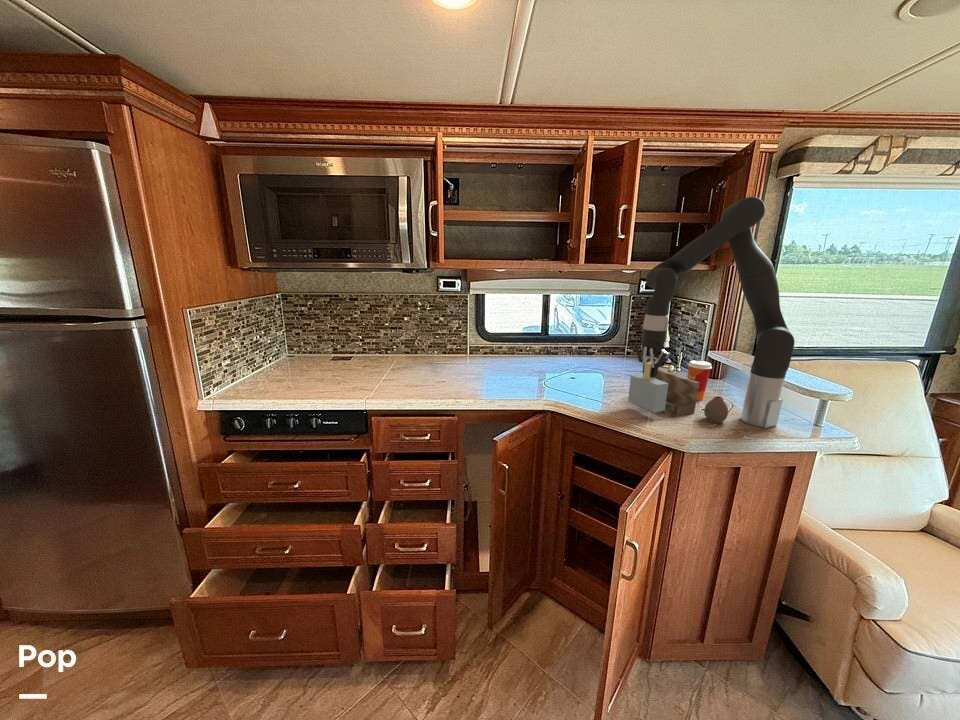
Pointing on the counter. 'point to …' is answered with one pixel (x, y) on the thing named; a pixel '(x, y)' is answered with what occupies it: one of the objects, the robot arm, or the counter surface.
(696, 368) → the coffee cup
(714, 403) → the brown rounded pot shape
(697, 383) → the brown wooden box
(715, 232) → the robot arm
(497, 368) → the counter surface
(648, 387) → the grey block with handle
